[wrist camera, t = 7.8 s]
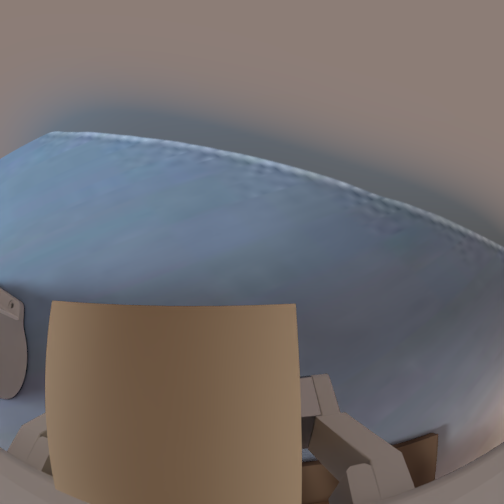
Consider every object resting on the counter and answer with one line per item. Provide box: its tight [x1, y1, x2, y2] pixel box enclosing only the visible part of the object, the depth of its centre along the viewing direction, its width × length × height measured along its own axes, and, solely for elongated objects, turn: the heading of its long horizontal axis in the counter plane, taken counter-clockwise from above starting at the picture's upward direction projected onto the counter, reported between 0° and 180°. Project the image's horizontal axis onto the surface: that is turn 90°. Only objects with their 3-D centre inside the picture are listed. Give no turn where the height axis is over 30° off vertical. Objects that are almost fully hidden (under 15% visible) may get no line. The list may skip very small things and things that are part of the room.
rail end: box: [45, 301, 302, 504], centre depth 8 cm, size 4×4×11 cm
